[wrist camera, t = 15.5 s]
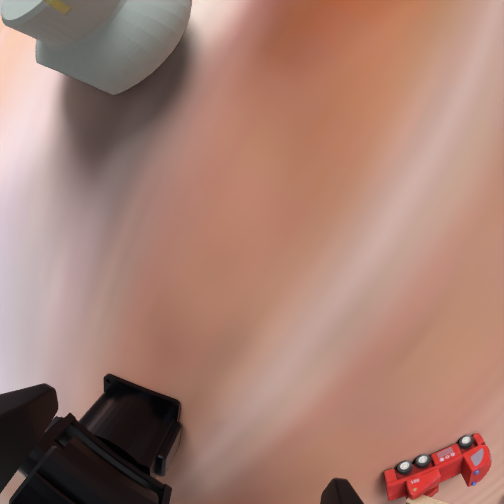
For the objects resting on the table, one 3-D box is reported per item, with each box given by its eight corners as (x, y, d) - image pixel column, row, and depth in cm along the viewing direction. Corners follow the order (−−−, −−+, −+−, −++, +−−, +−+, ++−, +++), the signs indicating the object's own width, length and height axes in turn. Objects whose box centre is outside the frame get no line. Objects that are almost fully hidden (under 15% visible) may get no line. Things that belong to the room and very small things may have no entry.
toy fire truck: (477, 446, 20) (511, 513, 10) (347, 494, 22) (354, 573, 13) (481, 426, 19) (522, 496, 10) (342, 477, 22) (350, 564, 12)
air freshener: (55, 69, 18) (-38, 37, 8) (111, -16, 16) (41, -75, 6) (155, 115, 18) (47, 69, 8) (224, 12, 16) (174, -90, 6)
